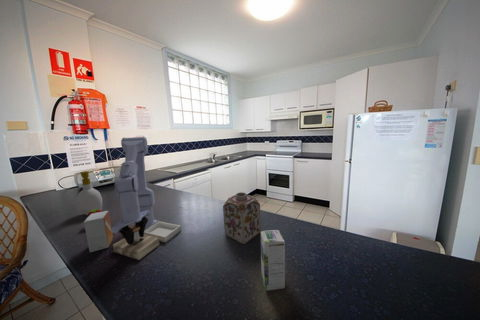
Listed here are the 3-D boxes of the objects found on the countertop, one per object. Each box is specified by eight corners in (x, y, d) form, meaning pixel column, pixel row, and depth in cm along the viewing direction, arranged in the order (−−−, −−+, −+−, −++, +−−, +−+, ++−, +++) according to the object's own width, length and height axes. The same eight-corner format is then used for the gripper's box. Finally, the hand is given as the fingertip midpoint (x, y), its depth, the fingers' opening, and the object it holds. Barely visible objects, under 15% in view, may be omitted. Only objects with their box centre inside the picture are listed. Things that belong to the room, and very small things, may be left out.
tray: (142, 237, 75) (142, 231, 75) (159, 226, 84) (159, 221, 84) (165, 242, 70) (165, 237, 70) (181, 230, 79) (180, 225, 79)
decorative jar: (261, 232, 74) (260, 192, 71) (244, 245, 66) (241, 201, 63) (241, 223, 82) (239, 187, 80) (223, 234, 74) (220, 195, 71)
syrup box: (260, 274, 52) (259, 230, 50) (279, 272, 52) (278, 228, 50) (265, 291, 46) (263, 243, 44) (286, 288, 47) (285, 240, 45)
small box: (109, 247, 69) (103, 217, 67) (89, 253, 67) (82, 222, 65) (113, 237, 76) (108, 210, 74) (95, 241, 74) (90, 213, 72)
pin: (128, 250, 67) (124, 229, 65) (138, 243, 71) (135, 223, 69) (135, 252, 65) (132, 231, 64) (145, 245, 69) (142, 225, 68)
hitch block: (114, 251, 66) (112, 244, 66) (135, 238, 75) (134, 232, 74) (139, 260, 61) (137, 252, 61) (159, 244, 69) (158, 237, 69)
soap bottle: (110, 210, 106) (102, 169, 102) (95, 217, 98) (86, 173, 94) (91, 209, 109) (83, 170, 105) (75, 216, 100) (66, 173, 96)
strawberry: (96, 228, 85) (93, 209, 84) (86, 227, 87) (82, 208, 86) (108, 222, 91) (105, 204, 89) (98, 221, 93) (94, 203, 91)
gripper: (118, 217, 57) (124, 254, 59) (154, 201, 70) (158, 231, 72) (104, 215, 60) (111, 250, 62) (141, 199, 73) (146, 228, 75)
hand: (135, 239), depth 67 cm, fingers closed on pin, 4 cm apart
